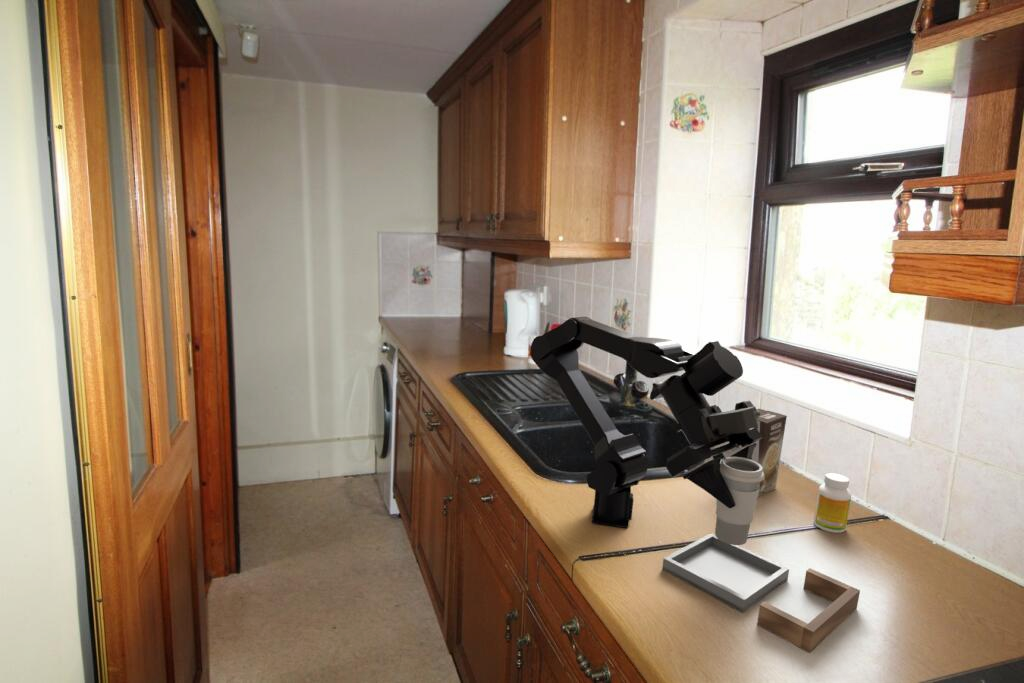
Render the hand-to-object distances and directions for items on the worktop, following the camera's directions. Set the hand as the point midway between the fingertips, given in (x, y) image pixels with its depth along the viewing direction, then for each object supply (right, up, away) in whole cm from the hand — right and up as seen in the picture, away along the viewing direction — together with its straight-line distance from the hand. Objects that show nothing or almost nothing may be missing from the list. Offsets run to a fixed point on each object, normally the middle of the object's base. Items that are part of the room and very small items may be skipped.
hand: (745, 501), depth 95 cm
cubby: (+7, -15, -6) cm, 17 cm away
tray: (-2, -12, +4) cm, 13 cm away
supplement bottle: (+24, -10, +22) cm, 34 cm away
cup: (-1, -6, +2) cm, 7 cm away
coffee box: (+15, -7, +37) cm, 41 cm away
